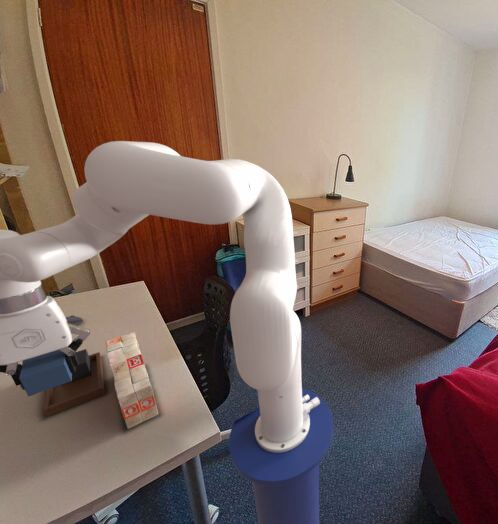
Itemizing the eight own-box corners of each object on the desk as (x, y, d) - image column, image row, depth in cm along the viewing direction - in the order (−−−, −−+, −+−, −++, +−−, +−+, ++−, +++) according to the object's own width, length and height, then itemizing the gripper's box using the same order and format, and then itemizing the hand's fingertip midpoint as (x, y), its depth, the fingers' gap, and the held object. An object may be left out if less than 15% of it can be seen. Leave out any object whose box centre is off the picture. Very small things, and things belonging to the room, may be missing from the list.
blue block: (71, 362, 61) (64, 345, 60) (71, 381, 57) (64, 363, 55) (31, 375, 57) (23, 358, 56) (28, 396, 53) (18, 378, 51)
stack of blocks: (160, 414, 67) (148, 374, 63) (127, 430, 63) (112, 389, 59) (144, 366, 82) (134, 330, 77) (117, 376, 78) (104, 339, 73)
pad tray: (101, 357, 84) (99, 351, 84) (105, 393, 72) (102, 387, 72) (51, 374, 78) (49, 368, 77) (46, 416, 66) (43, 410, 65)
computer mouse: (86, 321, 101) (83, 311, 100) (59, 336, 93) (55, 326, 91) (72, 319, 102) (68, 310, 100) (44, 335, 93) (39, 325, 92)
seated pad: (90, 361, 82) (86, 348, 80) (91, 374, 77) (86, 362, 75) (62, 370, 78) (56, 357, 77) (61, 385, 73) (55, 372, 72)
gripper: (-74, 326, 42) (-20, 413, 49) (80, 292, 53) (107, 367, 60) (-59, 306, 47) (-12, 387, 54) (79, 279, 58) (104, 349, 65)
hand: (50, 376), depth 57 cm, fingers closed on blue block, 6 cm apart
